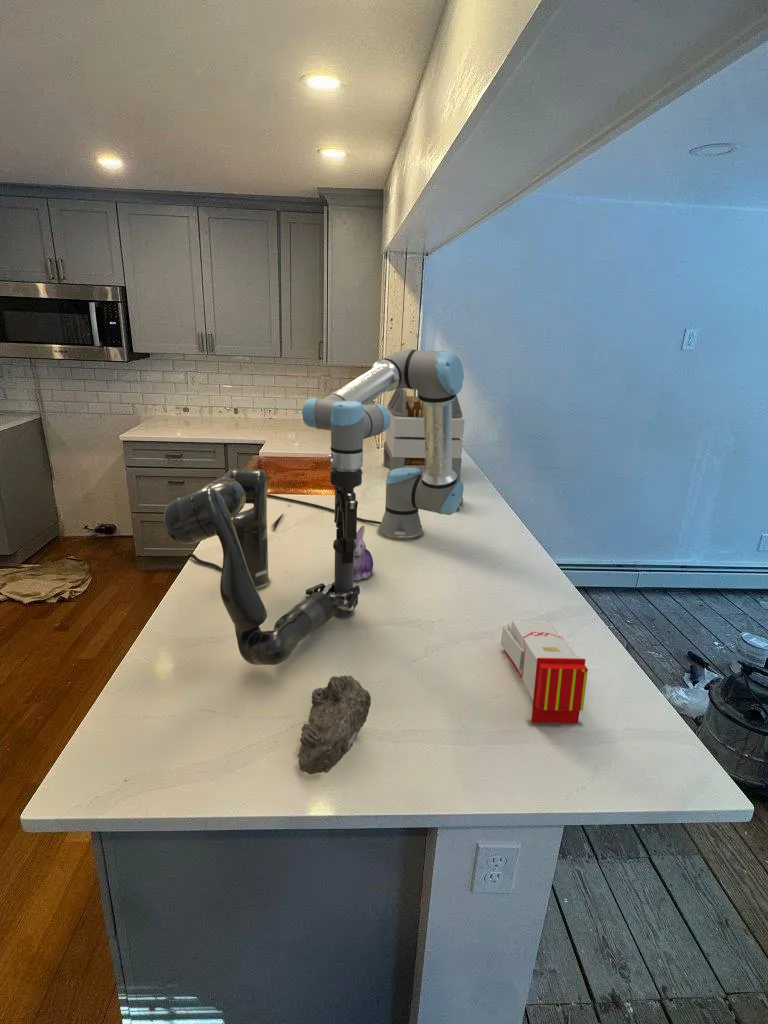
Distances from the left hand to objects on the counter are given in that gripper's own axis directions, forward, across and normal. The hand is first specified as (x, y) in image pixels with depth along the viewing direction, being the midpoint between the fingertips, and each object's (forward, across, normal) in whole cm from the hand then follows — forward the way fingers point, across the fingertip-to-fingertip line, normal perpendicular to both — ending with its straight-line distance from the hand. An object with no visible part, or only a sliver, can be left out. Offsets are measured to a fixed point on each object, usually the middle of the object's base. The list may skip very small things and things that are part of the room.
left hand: (348, 586), depth 147 cm
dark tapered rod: (+43, +56, +6) cm, 71 cm away
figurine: (+19, +8, +6) cm, 21 cm away
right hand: (-3, 0, -9) cm, 10 cm away
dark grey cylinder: (-3, 0, +6) cm, 7 cm away
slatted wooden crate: (+130, +40, +6) cm, 136 cm away
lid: (-3, 0, -13) cm, 13 cm away
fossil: (-41, -23, +6) cm, 48 cm away
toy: (-5, -51, +6) cm, 51 cm away
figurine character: (+94, +8, +6) cm, 94 cm away
